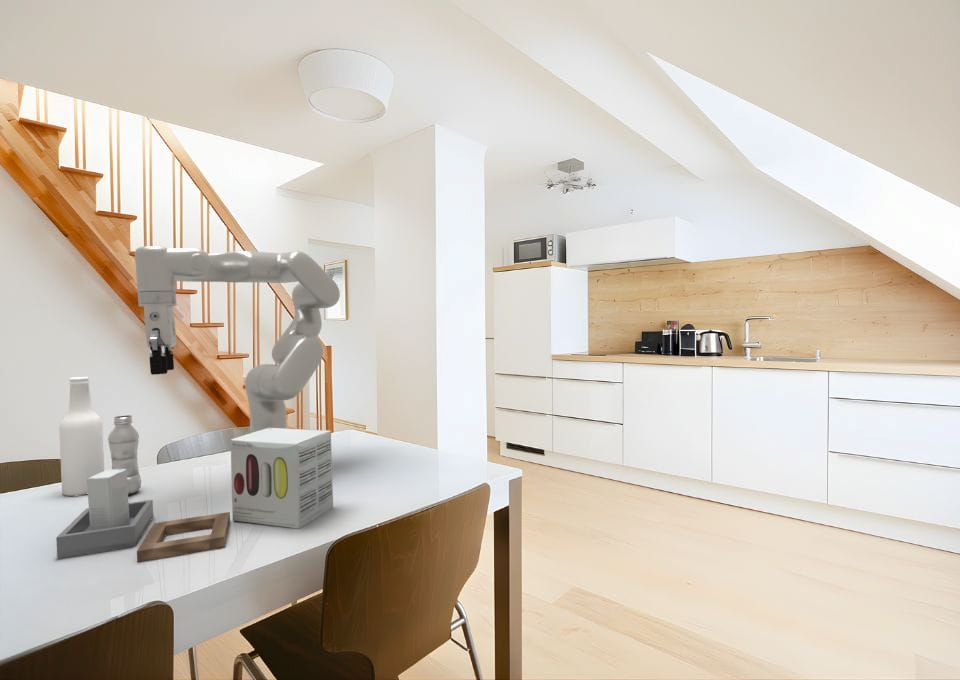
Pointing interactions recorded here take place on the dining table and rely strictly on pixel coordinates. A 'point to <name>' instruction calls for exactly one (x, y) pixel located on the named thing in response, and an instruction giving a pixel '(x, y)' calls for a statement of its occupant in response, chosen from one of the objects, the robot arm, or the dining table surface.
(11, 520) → the dining table surface
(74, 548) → the tray
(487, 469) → the dining table surface
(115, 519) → the skincare box
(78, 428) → the alcohol
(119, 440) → the plastic bottle
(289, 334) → the robot arm
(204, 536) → the brown square frame
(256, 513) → the supplement box
